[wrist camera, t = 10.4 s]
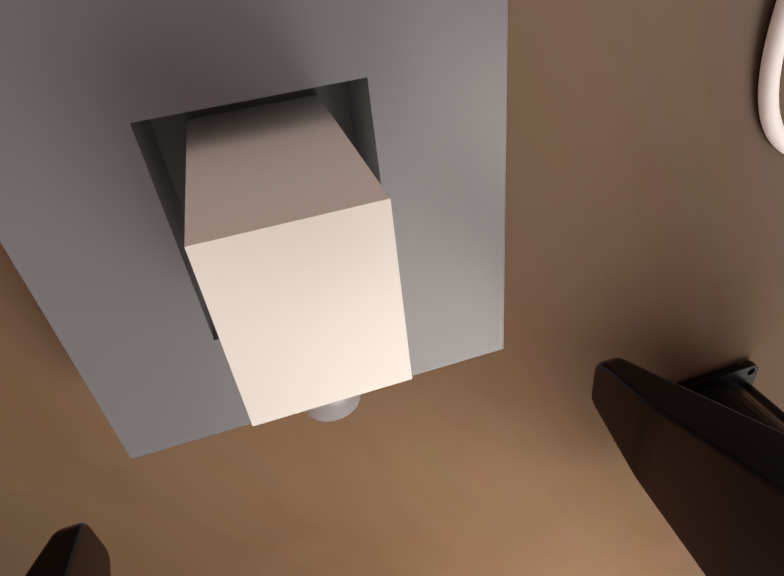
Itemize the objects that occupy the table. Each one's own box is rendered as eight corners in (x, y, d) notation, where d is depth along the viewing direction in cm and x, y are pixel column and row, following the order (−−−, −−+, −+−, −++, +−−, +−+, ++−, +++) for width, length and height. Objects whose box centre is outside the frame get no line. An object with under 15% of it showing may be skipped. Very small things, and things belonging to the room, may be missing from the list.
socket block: (452, -124, 16) (509, -132, 13) (467, 299, 24) (503, 348, 22) (-95, -52, 13) (-172, -43, 10) (138, 390, 22) (131, 459, 19)
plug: (316, 94, 17) (390, 198, 11) (348, 265, 21) (416, 416, 15) (186, 119, 17) (183, 246, 10) (242, 291, 20) (266, 462, 14)
